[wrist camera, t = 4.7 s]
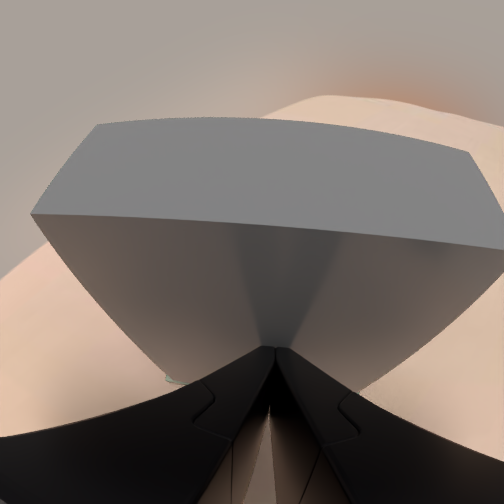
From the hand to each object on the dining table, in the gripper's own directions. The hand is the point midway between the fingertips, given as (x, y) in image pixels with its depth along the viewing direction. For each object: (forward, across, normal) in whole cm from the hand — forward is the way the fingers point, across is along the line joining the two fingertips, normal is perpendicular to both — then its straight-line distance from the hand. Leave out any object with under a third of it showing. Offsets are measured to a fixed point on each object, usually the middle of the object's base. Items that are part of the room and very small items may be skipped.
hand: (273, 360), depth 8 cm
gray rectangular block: (+6, 0, -4) cm, 7 cm away
